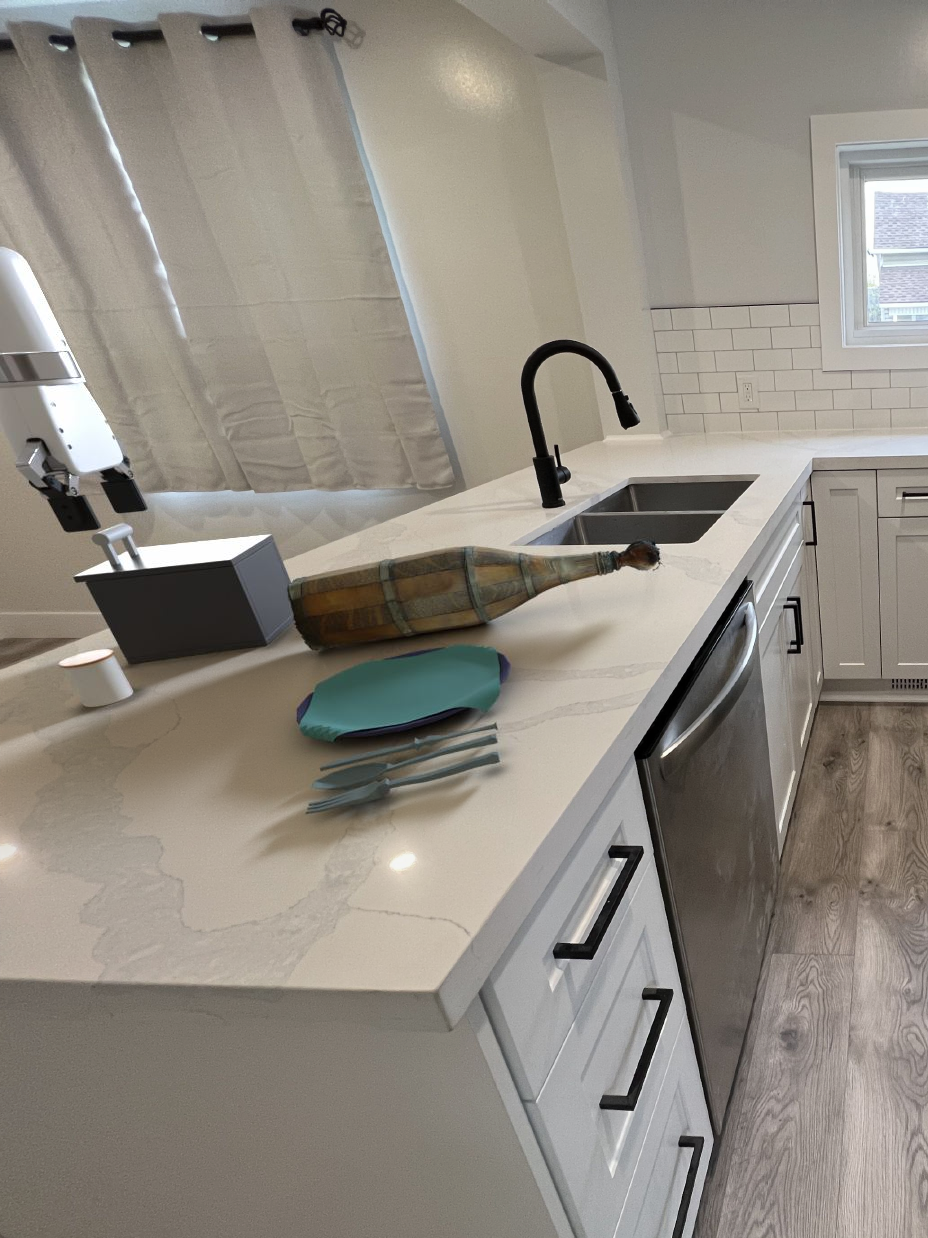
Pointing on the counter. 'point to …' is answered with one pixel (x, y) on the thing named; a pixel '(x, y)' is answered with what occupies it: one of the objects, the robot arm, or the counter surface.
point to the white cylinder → (97, 677)
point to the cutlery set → (401, 714)
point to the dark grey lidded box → (197, 608)
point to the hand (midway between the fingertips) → (109, 520)
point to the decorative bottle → (438, 590)
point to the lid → (166, 555)
